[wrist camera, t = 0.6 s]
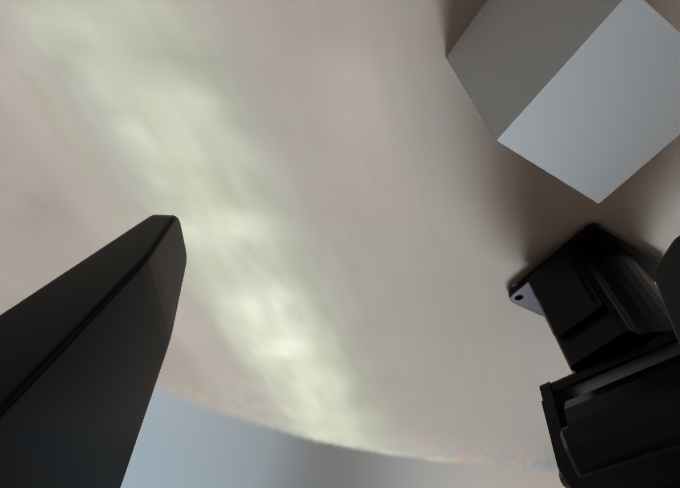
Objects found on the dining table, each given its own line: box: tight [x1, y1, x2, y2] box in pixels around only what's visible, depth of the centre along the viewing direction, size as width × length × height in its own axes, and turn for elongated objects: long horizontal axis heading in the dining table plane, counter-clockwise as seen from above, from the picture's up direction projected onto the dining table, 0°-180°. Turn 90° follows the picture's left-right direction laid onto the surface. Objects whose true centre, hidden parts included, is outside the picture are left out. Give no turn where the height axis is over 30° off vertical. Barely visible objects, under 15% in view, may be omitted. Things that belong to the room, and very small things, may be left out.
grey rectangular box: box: [446, 0, 680, 204], centre depth 15 cm, size 4×4×7 cm
